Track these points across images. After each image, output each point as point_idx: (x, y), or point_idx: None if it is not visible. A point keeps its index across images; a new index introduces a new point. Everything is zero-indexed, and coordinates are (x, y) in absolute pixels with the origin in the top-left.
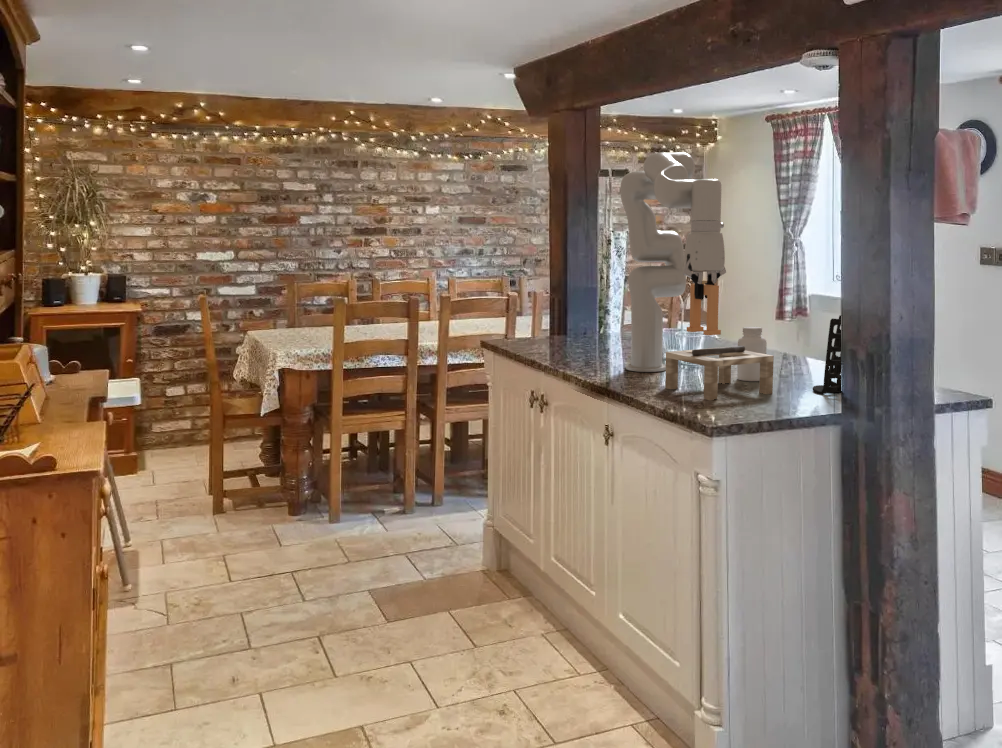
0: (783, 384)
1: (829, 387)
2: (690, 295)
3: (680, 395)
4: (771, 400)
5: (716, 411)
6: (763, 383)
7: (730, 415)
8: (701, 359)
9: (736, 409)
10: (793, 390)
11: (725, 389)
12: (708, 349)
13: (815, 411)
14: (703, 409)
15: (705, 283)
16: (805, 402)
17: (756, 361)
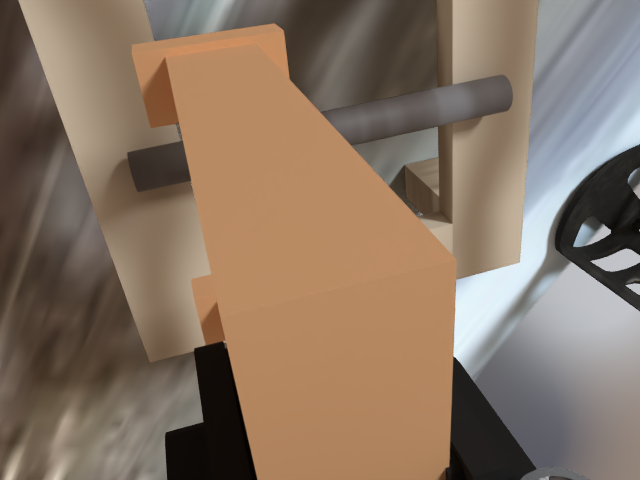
0: (603, 17)
1: (589, 259)
2: (194, 193)
3: (54, 129)
4: None
5: (96, 423)
6: (422, 203)
7: (119, 470)
8: (128, 301)
9: (176, 403)
10: (539, 152)
11: (324, 48)
12: None
13: None
14: (61, 394)
15: (467, 474)
16: None
17: None
